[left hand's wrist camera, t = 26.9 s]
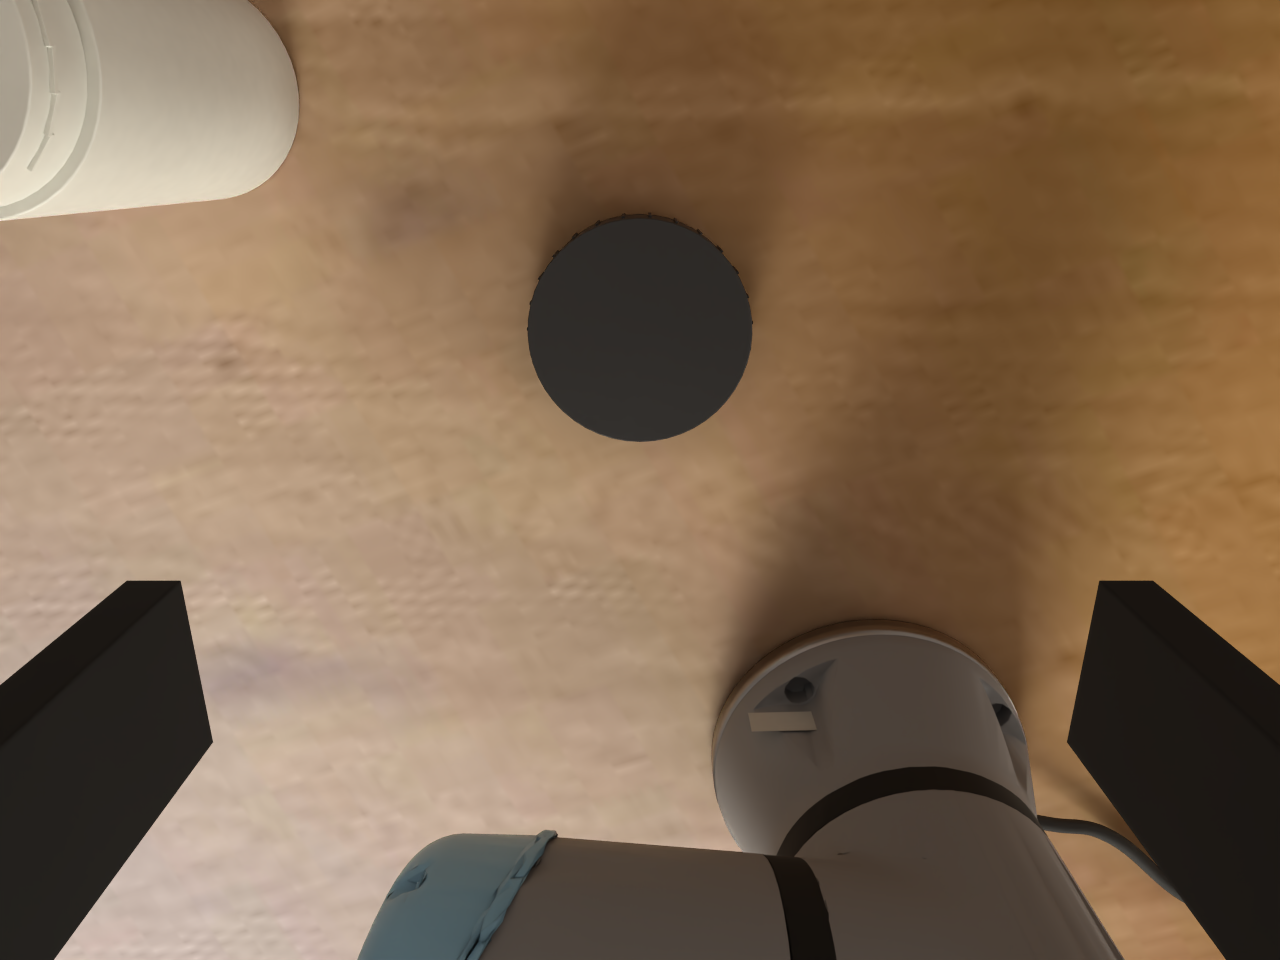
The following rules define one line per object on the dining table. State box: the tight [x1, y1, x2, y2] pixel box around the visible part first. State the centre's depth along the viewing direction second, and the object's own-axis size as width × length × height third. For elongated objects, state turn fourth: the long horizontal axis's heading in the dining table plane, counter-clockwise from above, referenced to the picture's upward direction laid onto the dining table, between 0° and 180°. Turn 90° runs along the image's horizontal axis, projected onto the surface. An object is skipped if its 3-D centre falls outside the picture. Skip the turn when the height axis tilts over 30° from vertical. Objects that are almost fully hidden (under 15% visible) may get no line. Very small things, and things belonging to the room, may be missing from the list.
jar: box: [0, 0, 299, 221], centre depth 27 cm, size 8×8×16 cm
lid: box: [527, 213, 753, 442], centre depth 36 cm, size 9×9×2 cm
